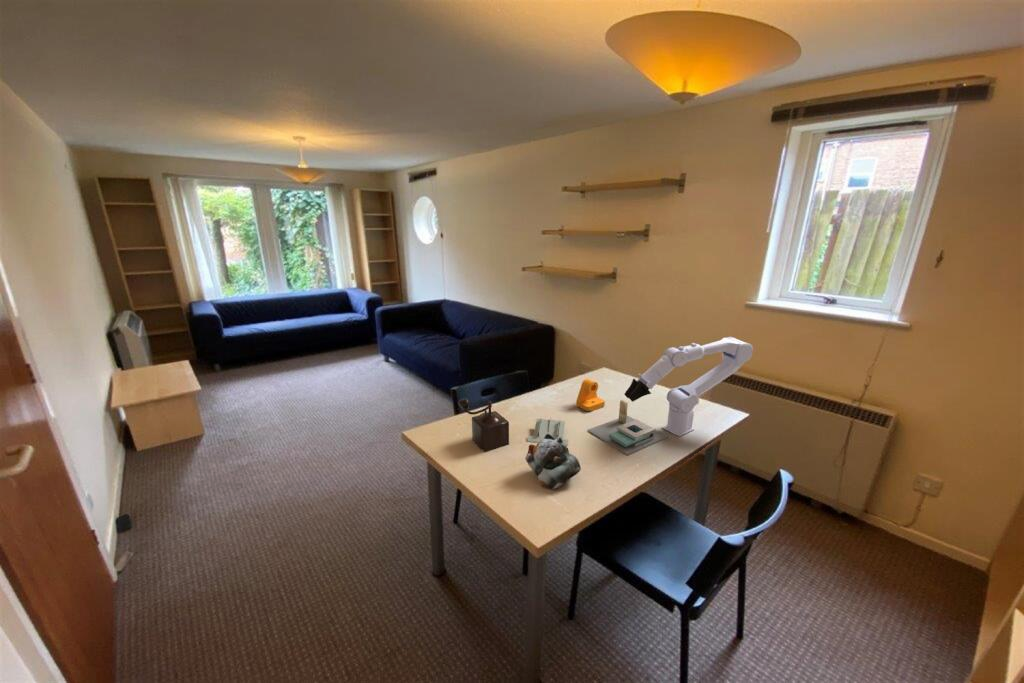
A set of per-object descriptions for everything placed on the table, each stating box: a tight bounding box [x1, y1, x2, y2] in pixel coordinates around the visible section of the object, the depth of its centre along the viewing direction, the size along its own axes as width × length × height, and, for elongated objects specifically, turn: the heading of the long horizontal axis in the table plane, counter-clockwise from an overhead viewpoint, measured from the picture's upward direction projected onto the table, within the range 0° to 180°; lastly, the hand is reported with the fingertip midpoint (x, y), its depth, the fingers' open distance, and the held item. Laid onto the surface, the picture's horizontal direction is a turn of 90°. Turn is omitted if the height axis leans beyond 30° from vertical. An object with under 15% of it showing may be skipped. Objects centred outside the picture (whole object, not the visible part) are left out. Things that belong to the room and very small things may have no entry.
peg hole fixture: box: [609, 419, 656, 447], centre depth 146 cm, size 15×9×4 cm, turn 123°
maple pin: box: [618, 399, 629, 424], centre depth 158 cm, size 3×3×9 cm
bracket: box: [575, 378, 606, 412], centre depth 172 cm, size 11×7×12 cm, turn 124°
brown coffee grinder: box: [458, 397, 510, 453], centre depth 143 cm, size 16×11×18 cm
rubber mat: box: [587, 415, 669, 456], centre depth 151 cm, size 22×20×1 cm
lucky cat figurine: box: [524, 434, 582, 490], centre depth 125 cm, size 15×12×14 cm
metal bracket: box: [526, 417, 569, 447], centre depth 151 cm, size 14×6×15 cm
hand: (628, 397), depth 147 cm, fingers open, 7 cm apart
